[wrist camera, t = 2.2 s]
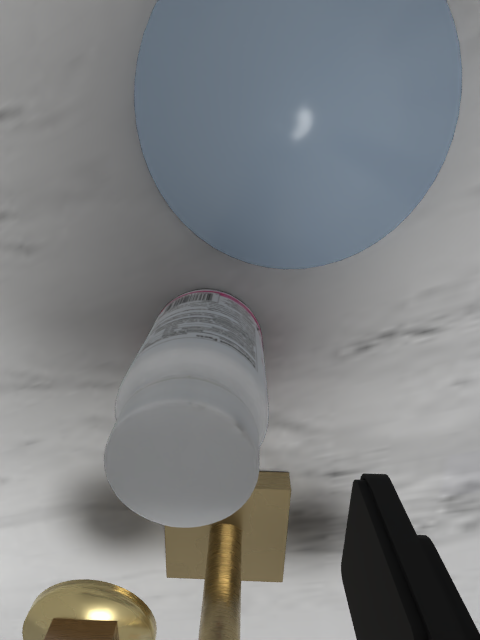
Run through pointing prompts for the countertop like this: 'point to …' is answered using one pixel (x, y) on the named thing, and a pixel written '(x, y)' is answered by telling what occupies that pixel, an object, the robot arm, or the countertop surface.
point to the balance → (180, 576)
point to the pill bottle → (191, 414)
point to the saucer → (296, 119)
